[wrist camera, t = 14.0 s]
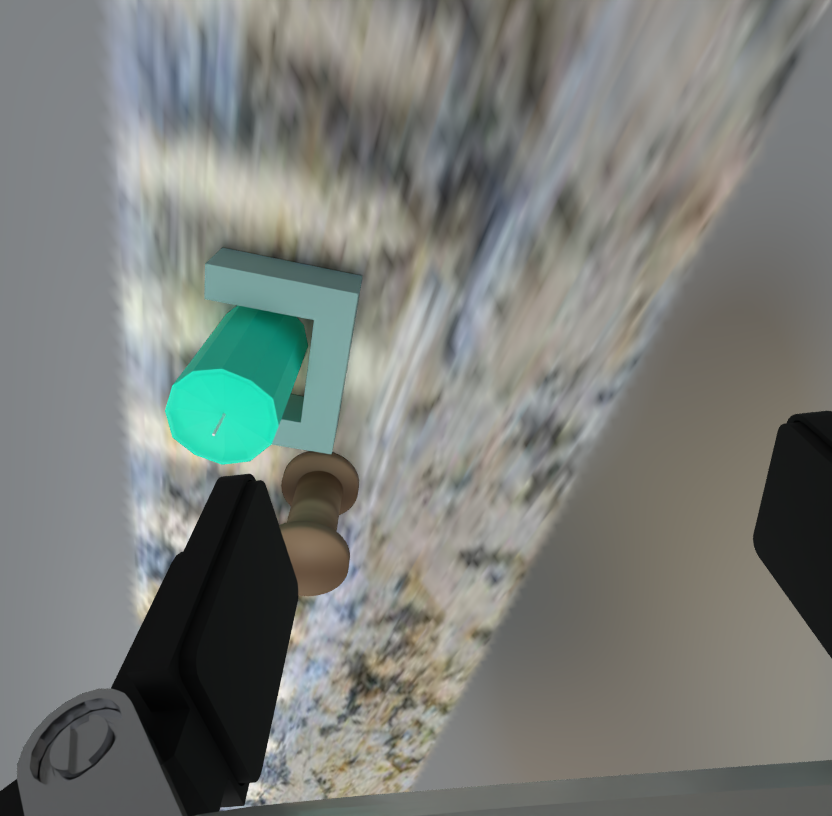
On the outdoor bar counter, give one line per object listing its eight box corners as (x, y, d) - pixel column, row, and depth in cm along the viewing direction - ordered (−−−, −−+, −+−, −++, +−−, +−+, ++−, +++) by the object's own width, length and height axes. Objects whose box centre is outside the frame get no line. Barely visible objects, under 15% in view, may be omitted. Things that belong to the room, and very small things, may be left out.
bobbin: (275, 455, 44) (247, 536, 37) (351, 446, 44) (338, 526, 36) (293, 513, 47) (271, 599, 40) (364, 506, 47) (356, 591, 39)
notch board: (222, 247, 36) (205, 263, 33) (362, 276, 37) (358, 293, 34) (216, 406, 42) (201, 432, 39) (337, 427, 43) (331, 454, 40)
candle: (247, 388, 41) (194, 494, 31) (203, 316, 39) (128, 405, 28) (322, 362, 40) (293, 462, 30) (283, 285, 38) (235, 366, 27)
